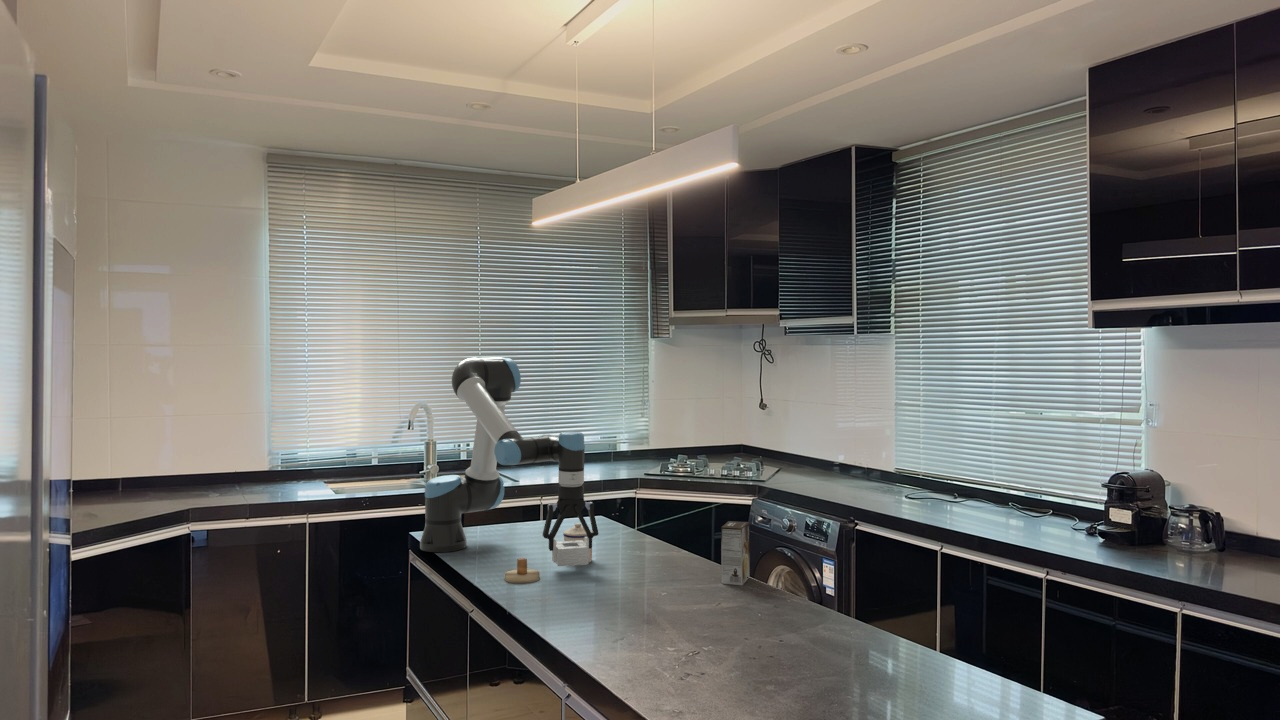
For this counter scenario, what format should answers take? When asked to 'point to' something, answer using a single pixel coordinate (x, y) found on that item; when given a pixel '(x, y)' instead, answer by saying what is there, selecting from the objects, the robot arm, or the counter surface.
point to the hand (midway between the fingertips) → (570, 560)
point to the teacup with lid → (577, 536)
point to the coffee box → (735, 552)
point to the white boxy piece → (571, 553)
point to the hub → (522, 573)
